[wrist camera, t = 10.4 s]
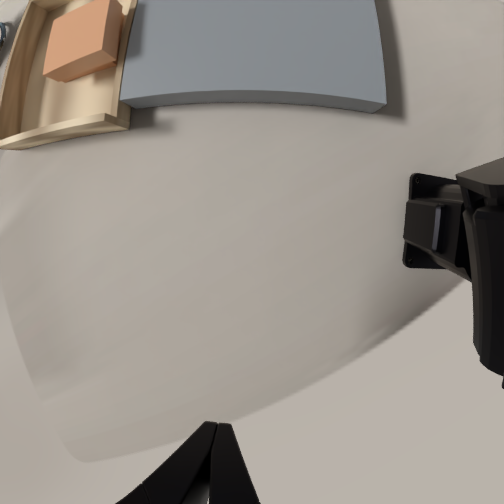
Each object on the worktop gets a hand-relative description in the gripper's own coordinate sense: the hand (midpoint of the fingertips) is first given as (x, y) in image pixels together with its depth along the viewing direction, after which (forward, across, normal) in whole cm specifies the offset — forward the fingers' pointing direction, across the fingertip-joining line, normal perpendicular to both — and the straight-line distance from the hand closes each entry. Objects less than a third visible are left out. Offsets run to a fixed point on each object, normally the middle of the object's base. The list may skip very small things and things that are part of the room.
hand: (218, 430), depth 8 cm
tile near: (+10, +12, -18) cm, 24 cm away
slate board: (+12, 0, -19) cm, 22 cm away
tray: (+12, +14, -19) cm, 27 cm away
